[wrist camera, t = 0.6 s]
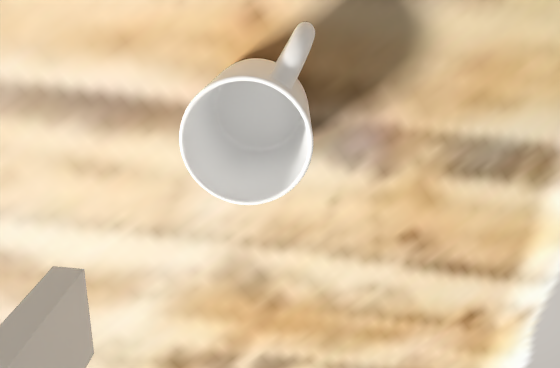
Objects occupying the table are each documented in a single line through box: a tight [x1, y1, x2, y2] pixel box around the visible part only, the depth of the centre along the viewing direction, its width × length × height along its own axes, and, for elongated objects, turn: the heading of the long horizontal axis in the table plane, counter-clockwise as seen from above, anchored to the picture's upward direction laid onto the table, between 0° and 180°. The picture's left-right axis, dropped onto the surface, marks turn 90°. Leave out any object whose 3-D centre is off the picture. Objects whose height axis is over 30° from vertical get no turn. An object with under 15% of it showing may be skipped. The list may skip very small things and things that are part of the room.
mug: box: [179, 22, 315, 205], centre depth 30 cm, size 12×8×10 cm
